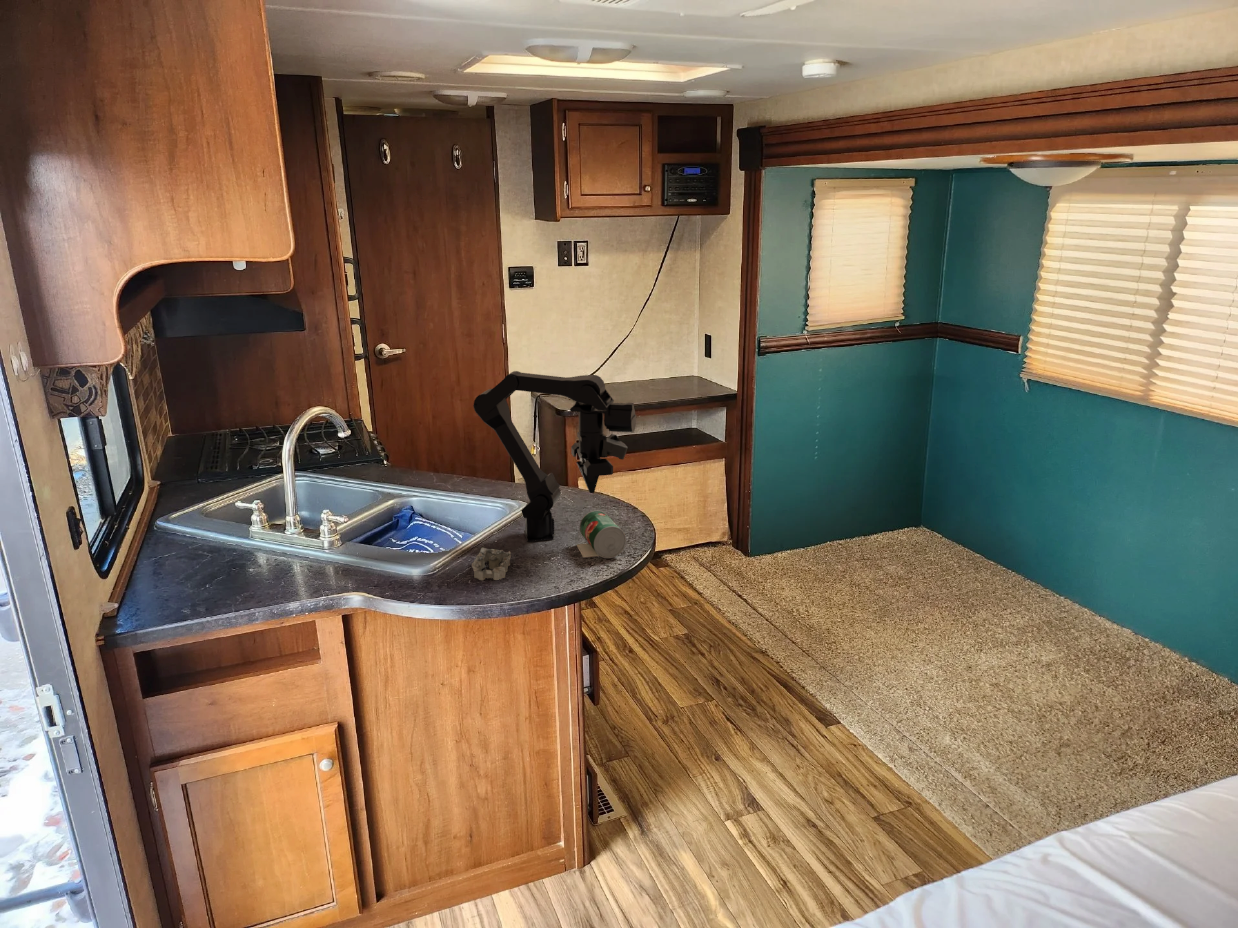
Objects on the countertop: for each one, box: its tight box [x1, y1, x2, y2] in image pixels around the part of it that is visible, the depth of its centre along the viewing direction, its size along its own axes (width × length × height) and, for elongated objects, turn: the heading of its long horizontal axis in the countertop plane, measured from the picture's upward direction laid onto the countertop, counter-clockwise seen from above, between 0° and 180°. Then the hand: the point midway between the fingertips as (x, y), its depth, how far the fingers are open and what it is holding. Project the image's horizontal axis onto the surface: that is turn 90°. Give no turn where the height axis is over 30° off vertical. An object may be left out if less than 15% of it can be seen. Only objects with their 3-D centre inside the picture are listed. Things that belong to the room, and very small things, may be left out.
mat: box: [576, 542, 600, 558], centre depth 198 cm, size 8×7×1 cm
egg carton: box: [471, 547, 512, 581], centre depth 186 cm, size 11×8×4 cm
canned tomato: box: [579, 509, 627, 559], centre depth 197 cm, size 8×8×11 cm
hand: (591, 492), depth 199 cm, fingers closed
